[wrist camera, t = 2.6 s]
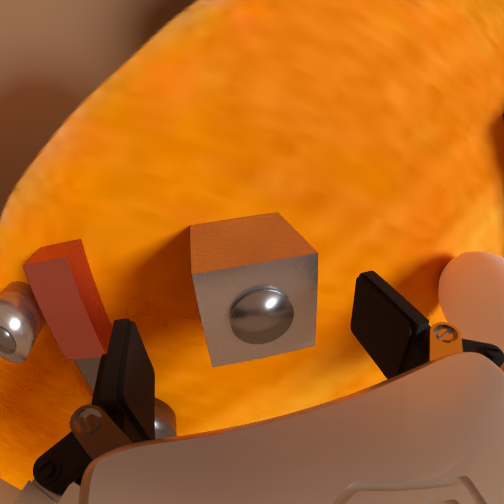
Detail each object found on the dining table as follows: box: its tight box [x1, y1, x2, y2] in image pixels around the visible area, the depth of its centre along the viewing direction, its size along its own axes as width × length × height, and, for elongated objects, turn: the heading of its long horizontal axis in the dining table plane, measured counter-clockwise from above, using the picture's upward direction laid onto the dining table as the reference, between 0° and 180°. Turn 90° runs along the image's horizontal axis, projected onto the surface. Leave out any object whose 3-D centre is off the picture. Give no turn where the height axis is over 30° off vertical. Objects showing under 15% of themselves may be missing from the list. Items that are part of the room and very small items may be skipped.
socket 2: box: [190, 213, 318, 367], centre depth 15 cm, size 5×5×6 cm
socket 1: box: [0, 281, 46, 363], centre depth 15 cm, size 4×4×4 cm
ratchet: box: [23, 239, 177, 439], centre depth 17 cm, size 7×20×6 cm, turn 5°
